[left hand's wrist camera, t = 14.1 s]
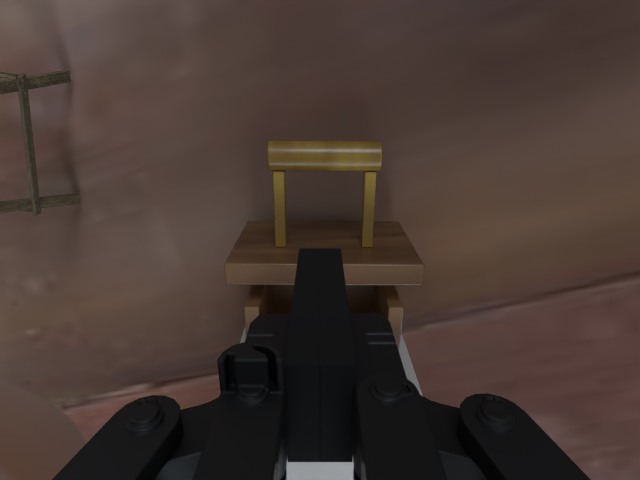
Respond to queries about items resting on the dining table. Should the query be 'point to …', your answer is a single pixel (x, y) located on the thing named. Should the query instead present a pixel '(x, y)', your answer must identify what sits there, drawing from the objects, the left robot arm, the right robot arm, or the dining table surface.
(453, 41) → the dining table surface
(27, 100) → the miniature windmill
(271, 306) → the drawer
